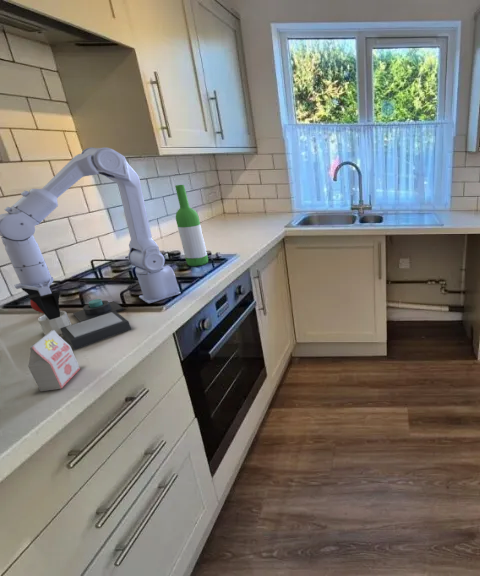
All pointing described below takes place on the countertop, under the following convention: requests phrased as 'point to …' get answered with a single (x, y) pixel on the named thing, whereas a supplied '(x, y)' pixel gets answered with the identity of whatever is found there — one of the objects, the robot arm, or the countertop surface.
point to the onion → (35, 306)
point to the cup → (54, 323)
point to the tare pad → (97, 310)
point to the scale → (95, 329)
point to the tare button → (95, 303)
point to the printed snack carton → (52, 362)
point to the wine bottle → (190, 231)
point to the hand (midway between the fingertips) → (50, 313)
